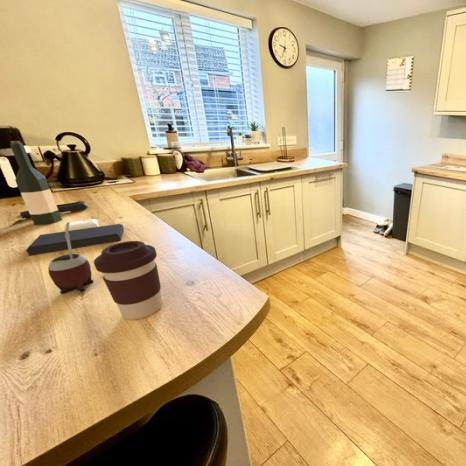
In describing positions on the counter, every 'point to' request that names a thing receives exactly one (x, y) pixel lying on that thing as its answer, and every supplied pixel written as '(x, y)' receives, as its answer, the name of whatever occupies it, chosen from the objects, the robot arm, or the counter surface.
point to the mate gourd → (70, 270)
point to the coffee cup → (131, 278)
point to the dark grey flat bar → (76, 239)
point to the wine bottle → (34, 189)
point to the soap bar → (82, 224)
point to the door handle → (62, 208)
